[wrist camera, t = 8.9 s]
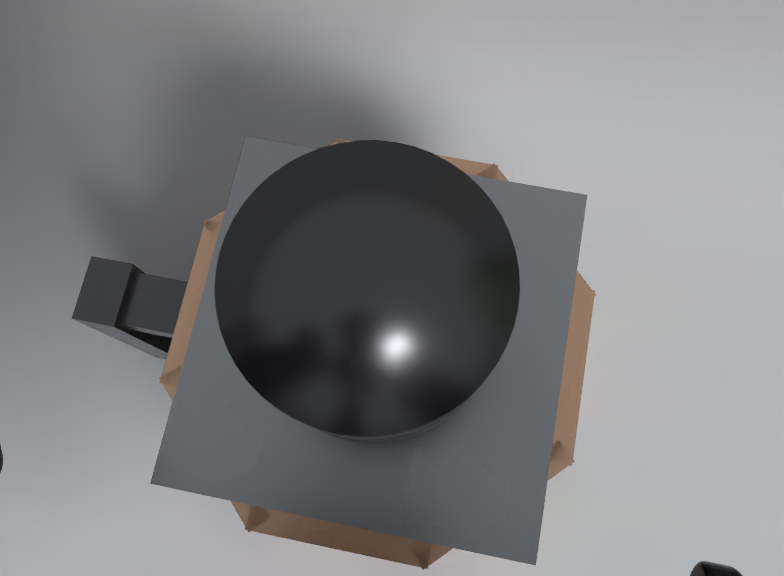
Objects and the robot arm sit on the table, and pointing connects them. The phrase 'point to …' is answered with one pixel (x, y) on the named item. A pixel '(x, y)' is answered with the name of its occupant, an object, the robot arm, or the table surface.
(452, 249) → the plunger
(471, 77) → the table surface
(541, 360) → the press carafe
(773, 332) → the table surface
